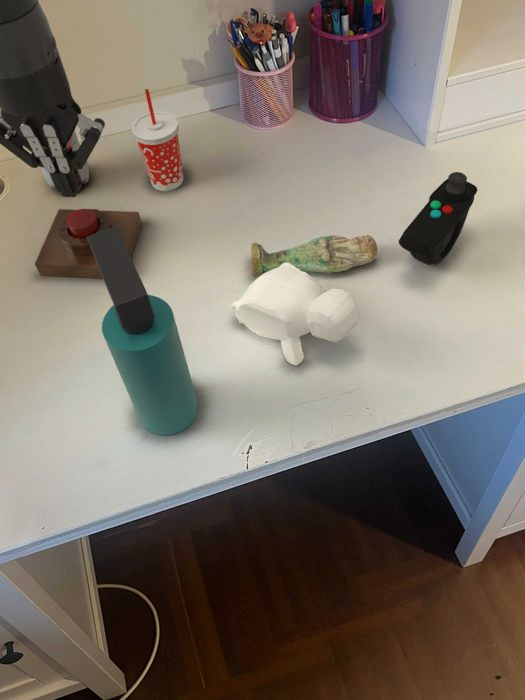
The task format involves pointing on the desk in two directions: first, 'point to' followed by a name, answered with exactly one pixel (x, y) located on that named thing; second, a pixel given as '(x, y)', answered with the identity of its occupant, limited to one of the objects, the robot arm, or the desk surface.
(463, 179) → the controller
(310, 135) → the desk surface
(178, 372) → the spray bottle
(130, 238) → the button box
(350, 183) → the desk surface
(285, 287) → the penguin
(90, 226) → the button
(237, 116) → the desk surface
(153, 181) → the beverage cup
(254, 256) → the figurine
